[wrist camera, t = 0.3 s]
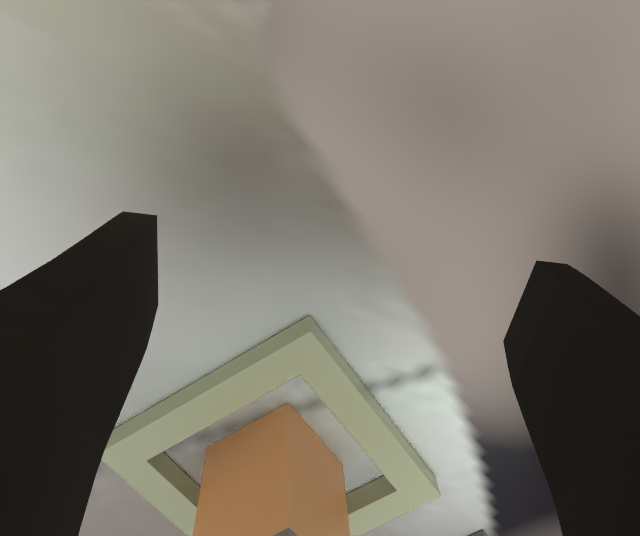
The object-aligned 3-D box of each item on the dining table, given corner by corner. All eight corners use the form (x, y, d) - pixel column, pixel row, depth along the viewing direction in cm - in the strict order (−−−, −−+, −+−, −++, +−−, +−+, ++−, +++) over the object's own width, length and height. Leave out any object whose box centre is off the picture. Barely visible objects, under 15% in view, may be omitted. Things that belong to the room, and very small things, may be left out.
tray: (249, 567, 31) (247, 589, 30) (103, 435, 27) (95, 455, 26) (434, 476, 29) (440, 496, 28) (309, 315, 24) (310, 331, 23)
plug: (264, 503, 29) (258, 650, 23) (207, 447, 27) (183, 589, 21) (342, 463, 28) (358, 605, 22) (288, 402, 26) (289, 537, 20)
